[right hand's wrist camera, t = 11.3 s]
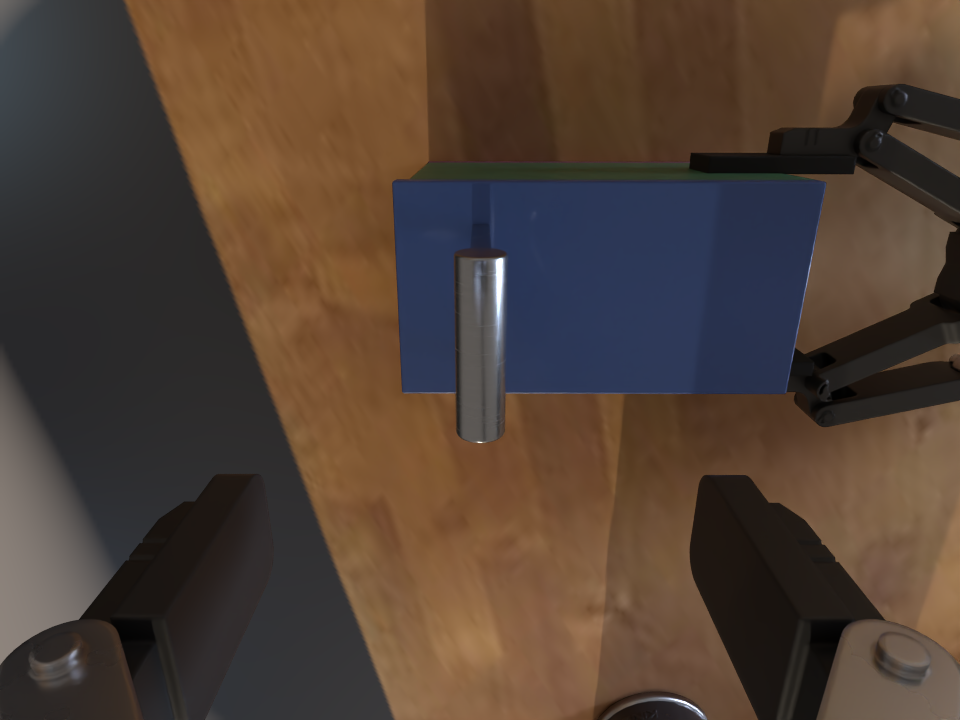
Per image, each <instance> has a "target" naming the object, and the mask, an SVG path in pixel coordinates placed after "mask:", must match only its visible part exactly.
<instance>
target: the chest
mask: <svg viewBox="0 0 960 720" xmlns="http://www.w3.org/2000/svg"><path fill="white" fill-rule="evenodd" d="M689 164H690V162H507V161H429V162H428V163H427V164H426V165H425V166H424V167H423V168H422V169H421V170H420V171H418V172H417V173H416V174H415V175H414V176H413V177H412V178H410V179H456V180H814V179H809V178H804V177H798V176H793V175H788V174H783V173H705V172H701V171H697V170H693V169H689Z"/></svg>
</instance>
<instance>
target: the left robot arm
mask: <svg viewBox="0 0 960 720" xmlns="http://www.w3.org/2000/svg"><path fill="white" fill-rule="evenodd" d="M853 105H854V110H853V111H852V113H851V115H850V117H849V118H848V120H847V121H846V122H845V123H843V124H842V125H840V126H838V127H834V128H780V129H777V130H775V131H772V132H770V137H769V143H768V150H767V153H691V156H690V164H689V169H693V170H697V171H701V172H705V173H783V174H854V169H855V165H857V166H858V167H860V168H862V169H863V170H865V171H867V172H869V173H870V174H872V175H874V176H875V177H877V178H879V179H880V180H882V181H884V182H885V183H887V184H889V185H890V186H892V187H894V188H895V189H897V190H899V191H900V192H902V193H904V194H905V195H907V196H909V197H910V198H912V199H914V200H915V201H917V202H919V203H920V204H922V205H924V206H926V207H927V208H929V209H931V210H932V211H934V212H935V213H934V214H935V215H936V216H938V217H940V218H941V219H943V220H945V221H946V222H948V223H950V224H951V225H953V226H955V227H956V228H958V229H957V231H956V232H950V234H949V237H948V241H947V245H946V263H945V265H944V267H943V269H942V271H941V273H940V274H939V276H938V278H937V282H936V286H935V290H934V293H933V294H931V295H928V296H926V297H924V298H921V299H919V300H917V301H915V302H913V303H912V304H911V305H910V308H909V309H908V310H906V311H904V312H901V313H899V314H897V315H894V316H892V317H890V318H888V319H885V320H883V321H881V322H878V323H876V324H874V325H871V326H869V327H867V328H864V329H862V330H860V331H858V332H855V333H853V334H851V335H848V336H846V337H844V338H841V339H839V340H837V341H835V342H832V343H830V344H828V345H825V346H823V347H821V348H818V349H816V350H814V351H812V352H809V353H807V354H805V355H804V354H803V353H801V352H800V351H799V350H797V349H796V348H795V349H794V354H793V359H792V364H791V369H790V375H789V380H788V385H787V390H786V392H796V394H795V396H794V402H795V404H796V405H797V406H798V407H799V408H800V409H801V410H803V411H804V412H805V413H806V414H807V415H808V416H809V417H810V418H811V419H812V420H813V421H815V422H816V423H817V424H818V425H819V426H822V427H829V426H834V425H839V424H844V423H849V422H854V421H859V420H864V419H869V418H874V417H879V416H884V415H889V414H894V413H899V412H904V411H909V410H914V409H919V408H924V407H929V406H934V405H939V404H944V403H949V402H954V401H959V400H960V355H959V354H954V355H952V356H951V357H950V359H949V362H944V361H939V362H928V363H922V364H917V365H912V366H908V367H903V368H898V369H893V370H888V371H883V372H880V371H882V370H885V369H887V368H889V367H892V366H894V365H897V364H899V363H901V362H904V361H906V360H908V359H911V358H913V357H916V356H918V355H920V354H923V353H925V352H927V351H930V350H932V349H935V348H937V347H939V346H942V345H944V344H949V343H951V344H958V343H960V178H959V177H958V176H956V175H954V174H953V173H951V172H949V171H948V170H946V169H944V168H943V167H941V166H940V165H938V164H936V163H935V162H933V161H931V160H930V159H928V158H927V157H925V156H923V155H922V154H920V153H918V152H917V151H915V150H914V149H912V148H910V147H909V146H907V145H905V144H904V143H902V142H900V141H899V140H897V139H896V138H894V137H892V136H891V135H889V134H887V132H888V130H889V128H890V126H891V125H892V123H897V124H901V125H904V126H908V127H912V128H915V129H919V130H923V131H927V132H930V133H934V134H938V135H942V136H945V137H949V138H953V139H957V140H960V99H957V98H953V97H950V96H946V95H942V94H939V93H935V92H931V91H928V90H924V89H920V88H917V87H913V86H909V85H906V84H893V85H880V86H867V87H864V88H862V89H861V90H859V91H858V92H857V94H856V95H855V97H854V101H853Z"/></svg>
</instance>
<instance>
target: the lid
mask: <svg viewBox="0 0 960 720" xmlns="http://www.w3.org/2000/svg"><path fill="white" fill-rule="evenodd" d="M392 188H393V209H394V230H395V251H396V272H397V293H398V315H399V336H400V357H401V378H402V392H403V393H456V432H457V434H458V436H459V437H460V438H462V439H463V440H466V441H469V442H474V443H487V442H492V441H495V440H498V439H499V438H501V437H502V436H503V434H504V432H505V393H541V394H785V393H786V390H787V385H788V380H789V375H790V369H791V364H792V359H793V354H794V349H795V344H796V338H797V333H798V328H799V323H800V318H801V313H802V307H803V302H804V297H805V292H806V287H807V281H808V276H809V271H810V266H811V261H812V256H813V250H814V245H815V240H816V235H817V230H818V225H819V219H820V214H821V209H822V204H823V199H824V194H825V188H826V182H824V181H818V180H456V179H396V180H394V181H393V183H392Z"/></svg>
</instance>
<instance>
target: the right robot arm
mask: <svg viewBox="0 0 960 720" xmlns="http://www.w3.org/2000/svg"><path fill="white" fill-rule="evenodd" d="M272 563H273V540H272V533H271V526H270V519H269V512H268V505H267V499H266V492H265V485H264V481H263V479H262V477H261V475H259V474H217V475H215V476H214V477H213V478H212V480H211V481H210V482H209V484H208V485H207V486H206V488H205V489H204V490H203V492H202V493H201V494H200V496H199V497H198V498H197V500H196V501H195V502H183V503H182V504H180V505H179V506H177V507H176V508H175V509H173V510H172V511H170V512H169V513H167V514H166V515H164V516H163V517H161V518H160V519H159V520H158V521H157V522H156V523H155V525H154V526H153V527H152V529H151V530H150V531H149V532H148V534H147V535H146V536H145V537H144V538H143V543H140V544H139V545H138V546H137V547H136V549H135V550H134V551H133V552H132V554H131V555H130V558H129V561H125V562H124V564H123V565H122V566H121V567H120V569H119V570H118V571H117V572H116V574H115V575H114V576H113V577H112V579H111V580H110V581H109V582H108V584H107V585H106V586H105V587H104V589H103V590H102V591H101V592H100V594H99V595H98V596H97V597H96V599H95V600H94V601H93V602H92V604H91V605H90V606H89V608H88V609H87V610H86V611H85V613H84V614H83V615H82V616H81V618H80V619H79V620H75V621H70V622H66V623H63V624H60V625H57V626H54V627H51V628H49V629H47V630H44V631H42V632H40V633H39V634H37V635H35V636H33V637H31V638H30V639H28V640H27V641H25V642H24V643H22V644H21V645H20V646H19V647H17V648H16V649H15V650H14V651H13V652H12V653H11V654H10V655H8V657H7V658H6V659H5V660H4V661H3V662H2V664H1V665H0V720H205V718H206V716H207V714H208V712H209V710H210V707H211V705H212V703H213V701H214V699H215V696H216V694H217V692H218V690H219V687H220V685H221V683H222V681H223V679H224V677H225V675H226V672H227V670H228V668H229V666H230V663H231V661H232V659H233V657H234V655H235V653H236V650H237V648H238V646H239V644H240V642H241V639H242V637H243V635H244V633H245V631H246V628H247V626H248V624H249V622H250V620H251V617H252V615H253V613H254V611H255V609H256V607H257V604H258V602H259V600H260V598H261V595H262V593H263V591H264V589H265V587H266V585H267V582H268V580H269V577H270V574H271V570H272ZM690 564H691V570H692V574H693V578H694V581H695V583H696V585H697V588H698V590H699V592H700V594H701V596H702V598H703V601H704V603H705V605H706V607H707V609H708V611H709V614H710V616H711V618H712V620H713V622H714V624H715V627H716V629H717V631H718V633H719V635H720V637H721V640H722V642H723V644H724V646H725V648H726V650H727V653H728V655H729V657H730V659H731V661H732V663H733V666H734V668H735V670H736V672H737V674H738V676H739V679H740V681H741V683H742V685H743V687H744V689H745V692H746V694H747V696H748V698H749V700H750V702H751V705H752V707H753V709H754V711H755V713H756V715H757V718H758V720H960V665H959V664H958V662H957V661H956V660H955V659H954V658H953V656H952V655H950V654H949V653H948V652H947V651H946V650H945V649H944V648H943V647H941V646H940V645H939V644H938V643H936V642H935V641H933V640H932V639H930V638H929V637H927V636H925V635H923V634H921V633H920V632H918V631H916V630H913V629H911V628H909V627H906V626H903V625H900V624H897V623H894V622H890V621H885V619H884V618H883V617H882V616H881V614H880V613H879V612H878V611H877V609H876V608H875V607H874V606H873V604H872V603H871V602H870V601H869V599H868V598H867V597H866V596H865V594H864V593H863V592H862V591H861V589H860V588H859V587H858V586H857V584H856V583H855V582H854V581H853V579H852V578H851V577H850V576H849V574H848V573H847V572H846V571H845V570H844V568H843V567H842V566H841V565H840V563H839V562H835V557H834V556H833V555H832V553H831V552H830V551H829V550H828V548H827V547H826V546H825V545H822V544H821V540H820V538H819V537H818V536H817V535H816V533H815V532H814V531H813V530H812V528H811V527H810V526H809V525H808V523H807V522H806V521H805V520H804V519H802V518H801V517H799V516H798V515H796V514H795V513H793V512H792V511H790V510H789V509H788V508H786V507H785V506H783V505H782V504H780V503H768V501H767V500H766V499H765V497H764V496H763V494H762V493H761V492H760V490H759V489H758V488H757V486H756V485H755V484H754V482H753V481H752V480H751V479H750V478H749V477H748V476H746V475H704V476H703V477H702V478H701V480H700V483H699V488H698V494H697V501H696V508H695V515H694V522H693V529H692V535H691V542H690ZM598 720H708V719H707V717H706V715H705V713H704V712H703V711H702V709H701V708H700V707H699V706H698V705H696V704H695V703H694V702H692V701H691V700H689V699H687V698H685V697H682V696H680V695H676V694H672V693H666V692H646V693H640V694H636V695H632V696H629V697H627V698H624V699H622V700H620V701H618V702H616V703H615V704H613V705H612V706H610V707H609V708H608V709H607V710H605V711H604V712H603V714H602V715H601V716H600V717H599V719H598Z"/></svg>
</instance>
